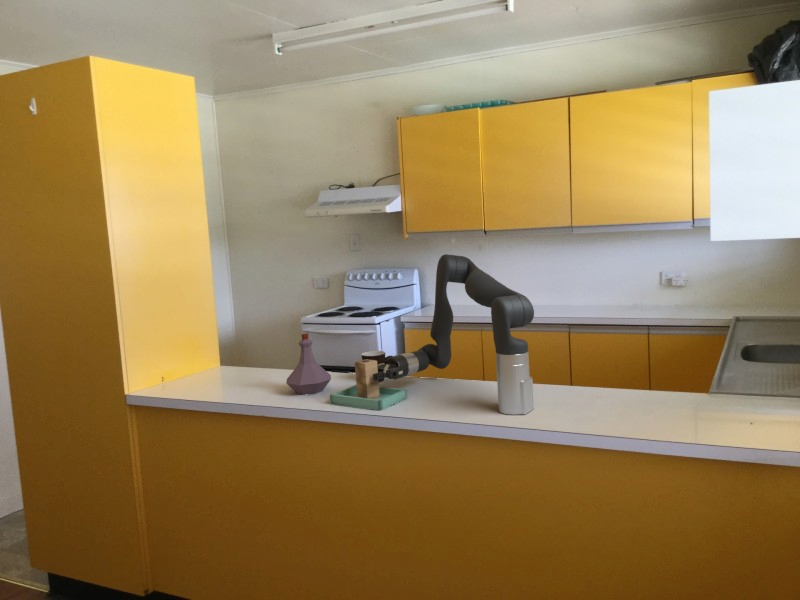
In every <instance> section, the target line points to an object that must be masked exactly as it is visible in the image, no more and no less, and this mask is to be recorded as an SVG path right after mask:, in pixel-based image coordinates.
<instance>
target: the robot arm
mask: <svg viewBox="0 0 800 600" xmlns="http://www.w3.org/2000/svg"><path fill="white" fill-rule="evenodd" d="M438 259H439V260H438V261H437V266H436V273H435V275H436V276H435V293H434V294H435V295H434V297H435V298H434V310H433V311H434V312H433V316H432V317H433V318H432V322H431V328H430V332H429V333H430V334H429V335H430V338H431V339H432V340H433V341H434V342H435V343H436V344H433V343H428V344H425V345H423V346H421V347H420V348H419V349H417V350H415V351H411V352H405V353H400V354H397V355H391V356H392V357H389V358H388V359H387V360H386V362H385V364H384V363H382V364H379V365H377V367H378V373H375V374H373V380H374V381H377V380H381V379H383V378H384V380H387V379H388V380H398V379H402V378H405V377H408V376H411V375H413V374H415V373H416V374H417V373H419V372H422V371H424V370H427V369H428V368H429V366H432V367H435V368H437V369H439V370H443V369H446V368H447V367H448V366H449V364H451V360H452V342H451V340H452V339H451V334H452V330H453V325H454V313H453V310H452V307H451V304H450V301H449V298H448V293H447V288H448V283H456V284H464V290H465V293H466V295H467V296H468V297H469V298H470V299H471V300H473V302H475V303H476V304H478V305H480V306H484V307H486V308H490V315H491V316H490V317H491V323H492V324H491V325H492V334H493V335H492V336H493V343H494V348H495V367H496V382H497V384H496V385H497V399H498V400H497V401H498V404H497V405H498V411H499V413H501V414H504V415H513V416H515V415H527V414H528V413H530V412H531V411H533V410H534V409H535V406H534V404H535V403H534V385H533V383H534V382H533V377H532V376H530V359H529V356H530V355H529V343H528V341H526V340H525V339H522V338H517V337H514V336H512V334H511V329H517V328H518V329H519V328H522V327H526V326H528V325H530V324H531V323H532V321H533V320H534V318H535V310H534V306H533V304H532V302H531V301H530V299H529V298H528V297H527V296H525V295H524V294H523V293H519V292H517V291H515V290H513V289H511V288H509V287H507V286H506V285H505V284H503V283H502V282H500V281H498V280H497V279H495V278H494V277H493V276H491V275H490V274H489V273H487V272H485V271H483V269H480V268H479V267H478V266H477V264H475V263H474V262H473V261H472V260H471V258H469V257H467V256H463V255H455V254H443V255H441V256H440V258H438Z"/></svg>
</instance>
